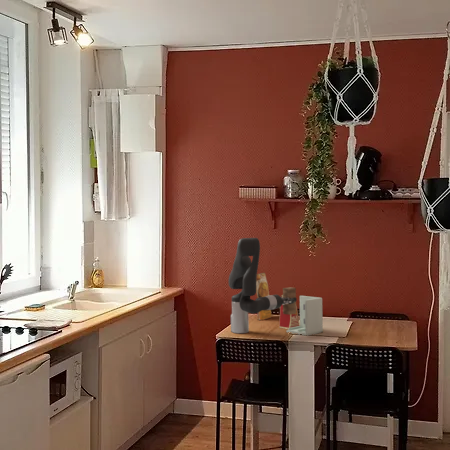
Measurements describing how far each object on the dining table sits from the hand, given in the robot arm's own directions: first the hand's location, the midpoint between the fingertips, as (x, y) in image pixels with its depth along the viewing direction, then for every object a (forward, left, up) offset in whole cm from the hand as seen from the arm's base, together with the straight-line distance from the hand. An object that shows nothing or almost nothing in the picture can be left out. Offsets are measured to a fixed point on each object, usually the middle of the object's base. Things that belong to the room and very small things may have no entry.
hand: (292, 299), depth 391 cm
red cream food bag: (-14, +12, -19) cm, 26 cm away
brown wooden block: (0, -3, -8) cm, 8 cm away
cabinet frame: (+3, +6, -19) cm, 20 cm away
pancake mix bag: (-47, +25, -19) cm, 56 cm away
